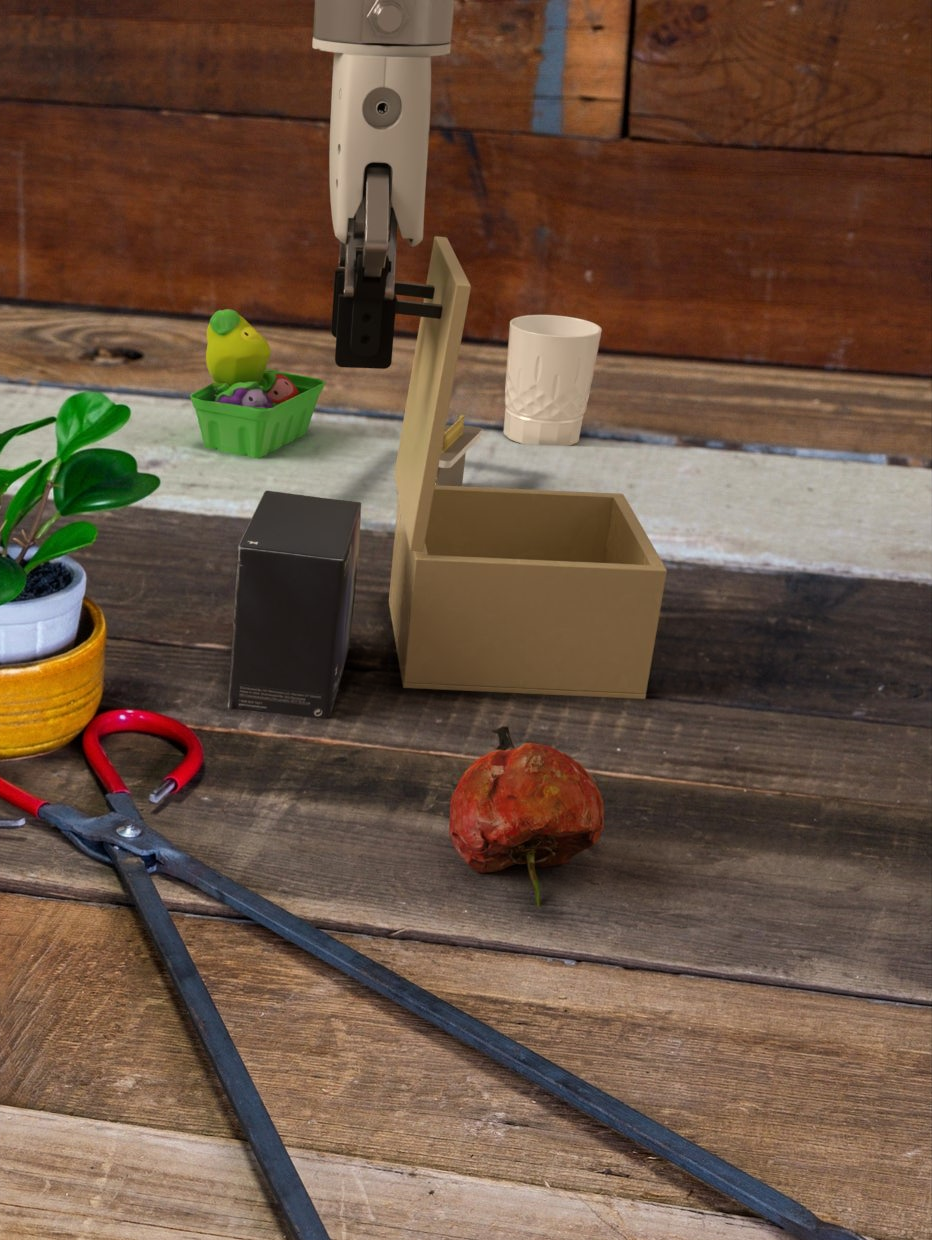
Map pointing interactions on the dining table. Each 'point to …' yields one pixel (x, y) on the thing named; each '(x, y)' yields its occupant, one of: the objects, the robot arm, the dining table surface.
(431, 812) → the dining table surface
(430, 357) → the lid
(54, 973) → the dining table surface
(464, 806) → the red round fruit
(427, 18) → the robot arm
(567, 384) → the white cup
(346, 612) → the small box
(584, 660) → the tan open box
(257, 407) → the fruit basket
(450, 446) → the platform
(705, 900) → the dining table surface
